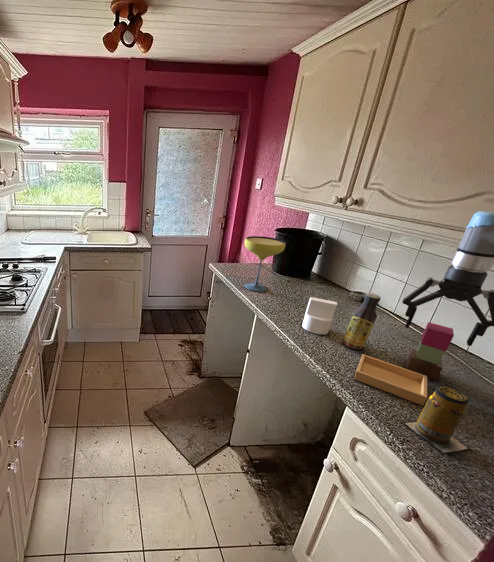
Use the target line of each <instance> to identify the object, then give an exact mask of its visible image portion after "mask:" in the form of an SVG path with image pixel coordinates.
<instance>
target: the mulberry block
mask: <svg viewBox="0 0 494 562" xmlns="http://www.w3.org/2000/svg"><path fill="white" fill-rule="evenodd" d="M454 336H455V332H454V328H452V327H449V326H444V325H441V324H437V323H434V322H433V323H432V322H429V321H428V322H427V323H426V325H425V327H424V330H423V332H422V334H421V337H420V342H421V344H423V345H426V346H430V347H433V348H436V349H440V350H443V351H444V352H447V350H448V349H449V346H450V344H451V342H452V341H453V338H454Z"/></svg>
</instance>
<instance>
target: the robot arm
mask: <svg viewBox="0 0 494 562" xmlns="http://www.w3.org/2000/svg"><path fill="white" fill-rule="evenodd" d="M492 211H493V210H479V211H477V212H475V213H474V214H473V216H472V217H471V219H470V221H469V222H468V225H467V226H466V227H465V230H464V233H463V235H462V238H461V240H460V242H459V244H458V247H457V248H456V251H455V253H454V255H453V258H452V260H451V261H450V264H451V265H450V266H448V268H447V269H446V272H445V274H444V276H443V278H442V279H441V280H437V279H434V278H433V277H427V278H426V280H425V282H424V283H423V284H422V285H420V286H419V287H417V288H416V289H415V290H413V291H412V292H410V293H409V294H408V295H406V296H405V297H404V298H403V299H402V302H401V303H402V305H405V306H407V308H406V311H405V314H404V316H405V317H408V319H407V321H406V323H405V327H404V328H406V329H409V328H410V326H411V323H412V321H413V319H414V317H415V314H416V312H417V310H418V308H417V307H418V306H422V305H424V304H426V303H429V302H432V301H433V300H436V299H439V298H442V297H444V298H446V299H448V300H455V301H457V302H461V303H462V302H467V303H468V305H469V306H470V308H471V309H472V311H473V312H474V314H475V315H476V317H477V318H478V320H479V321H476V322H475V325H474V327H473V329H472V330H471V332H470V334H469V336H468V338H467V340H466V346H469V347H472V346H473V344H474V342H475V340H476V339H477V336H478V337H483V336H484V335H485V333H486V331H487V329H488V328H490V327H494V289H489V290H487V289H482V286H483V285H484V283H485V281H486V279H487V277H488V275H489V274H488V272H490V271H491V269H492V267H493V265H494V212H492ZM435 286H438V288H439V289H438V290H435V291H433V292H432V293H429V294H427V295H424V296H422V297H420V298H418V299H416V298H417V297H419V296H420V295H421V294H423V293H425V291H427V290H428V289H429V288H430V287H431V288H433V287H435ZM480 295H483V298H484V299H486V302H487V306H488V310H489V314H490V318H491V319H490V320H489V319H487V317H486V315H485V314H484V313H483V311H482V309H481V308H480V307H479V305H478V303H477V301H476V300H475V299H474V298H475V297H478V296H480Z"/></svg>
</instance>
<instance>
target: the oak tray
mask: <svg viewBox="0 0 494 562" xmlns="http://www.w3.org/2000/svg"><path fill="white" fill-rule="evenodd" d="M353 380H356V381H359V382H361V383H363V384H366V385H369V386H371V387H374V388H376V389H379V390H382V391H384V392H386V393H389V394H392V395H395V396H396V397H400V398H402V399H405V400H407V401H410V402H412V403H415V404H417V405H420V406H422V407H423V406H425V404H426V402H427V400H428V379H427V376H425V375H422V374H419V373H416V372H413V371H410V370H408V369H406V367H405V368H404V367H401V366H399V365H396V364H392V363H391V362H387V361H384V360H382V359H378V358H375V357H372V356H370V355H366V354H364V353H362V354H361V357H360V360H359V362H358V365H357V368H356V371H355V374H354V377H353Z"/></svg>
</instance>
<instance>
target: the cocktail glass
mask: <svg viewBox="0 0 494 562" xmlns="http://www.w3.org/2000/svg"><path fill="white" fill-rule="evenodd" d="M244 247H245V248H246V250H248V251H249V252H250V253H252V254H253V255H255V256H256V257H257V259H258V260H259V266H258V270H257V273H256V279H255V281H254V283H251V282H250V283H245V284H244V285H243V286H244V288H245V289H247V290H248V291H251V292H257V293H263V292H267V290H268V288H267V287H266V286H264V285H261V284H259V276H260V273H261V272H260V271H261V266H262V262H263V261H264V260H266V259H267V258H269V257H272V256H273V257H274V256H276V255H279V254H281V253H283V252H284V250H285V248H286V242H285V241H284V240H282V239H279V238H275V237H270V236H260V235H259V236H258V235H253V236H252V235H251V236H247V237H246V238H245V239H244Z"/></svg>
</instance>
